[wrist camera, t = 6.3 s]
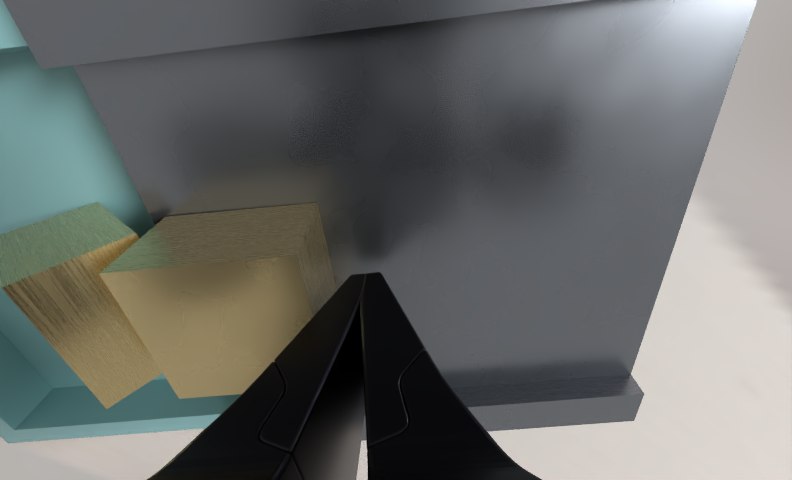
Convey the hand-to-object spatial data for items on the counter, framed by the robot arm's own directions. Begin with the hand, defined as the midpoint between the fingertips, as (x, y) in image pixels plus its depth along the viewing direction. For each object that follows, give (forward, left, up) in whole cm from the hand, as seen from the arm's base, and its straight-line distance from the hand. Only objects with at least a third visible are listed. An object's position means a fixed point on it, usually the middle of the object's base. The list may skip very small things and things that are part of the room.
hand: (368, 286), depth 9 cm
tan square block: (0, +3, -1) cm, 3 cm away
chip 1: (0, +7, -2) cm, 7 cm away
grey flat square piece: (0, -1, -4) cm, 4 cm away
